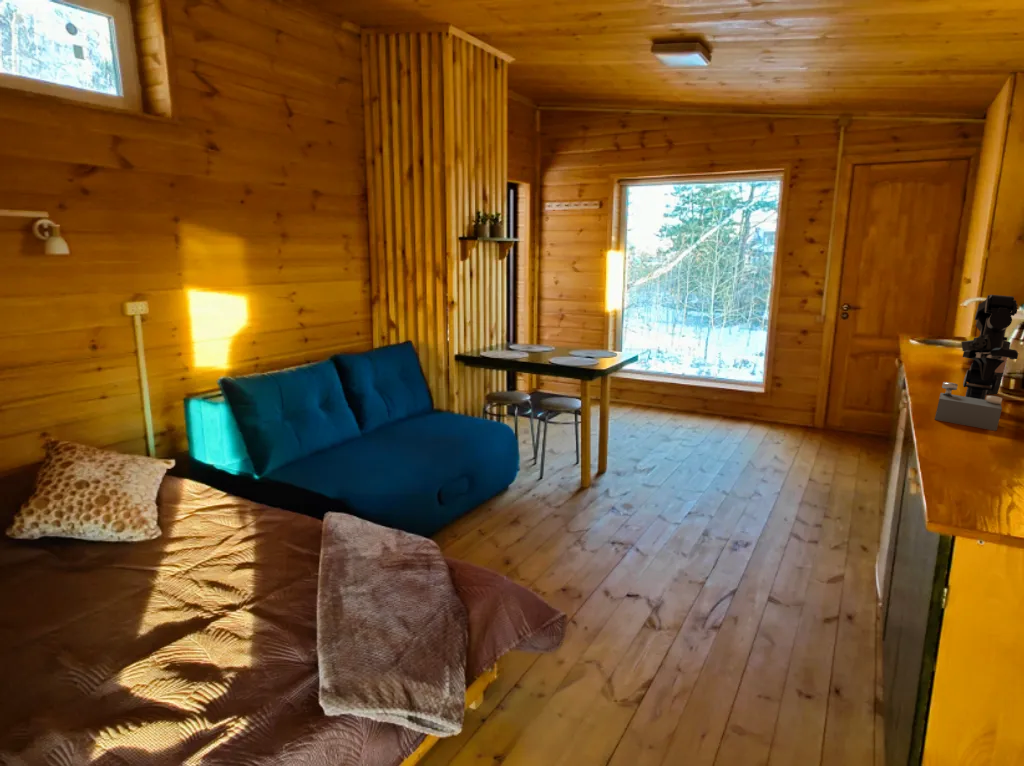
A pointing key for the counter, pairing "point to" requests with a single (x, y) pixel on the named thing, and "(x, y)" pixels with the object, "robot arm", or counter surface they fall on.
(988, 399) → the cream knob
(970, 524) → the counter surface
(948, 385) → the grey knob
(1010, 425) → the counter surface
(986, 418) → the console
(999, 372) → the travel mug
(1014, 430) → the counter surface
